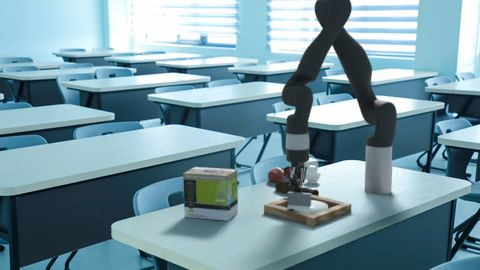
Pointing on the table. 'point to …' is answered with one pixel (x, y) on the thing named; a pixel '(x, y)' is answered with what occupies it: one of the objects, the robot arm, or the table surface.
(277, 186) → the hand tool
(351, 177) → the table surface
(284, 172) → the teeth model
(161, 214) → the table surface
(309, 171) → the white fluted cup
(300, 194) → the dial
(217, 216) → the tea box
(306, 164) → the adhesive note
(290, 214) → the wooden frame
